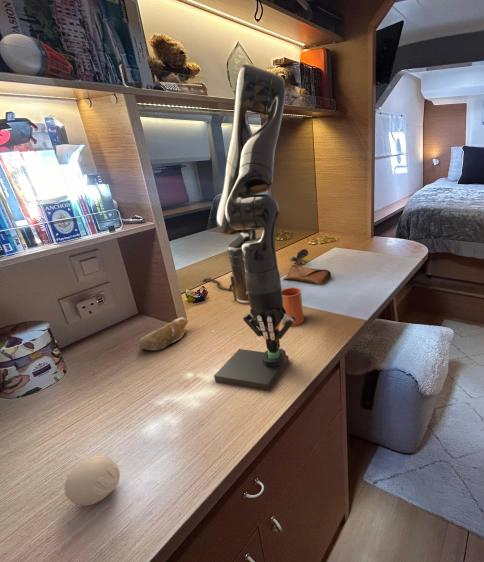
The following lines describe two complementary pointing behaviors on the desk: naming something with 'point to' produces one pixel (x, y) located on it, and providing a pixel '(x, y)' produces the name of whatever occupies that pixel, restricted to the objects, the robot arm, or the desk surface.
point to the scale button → (273, 354)
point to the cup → (293, 304)
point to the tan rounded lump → (91, 480)
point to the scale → (252, 369)
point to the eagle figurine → (299, 257)
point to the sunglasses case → (308, 275)
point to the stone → (163, 335)
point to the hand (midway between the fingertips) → (273, 350)
